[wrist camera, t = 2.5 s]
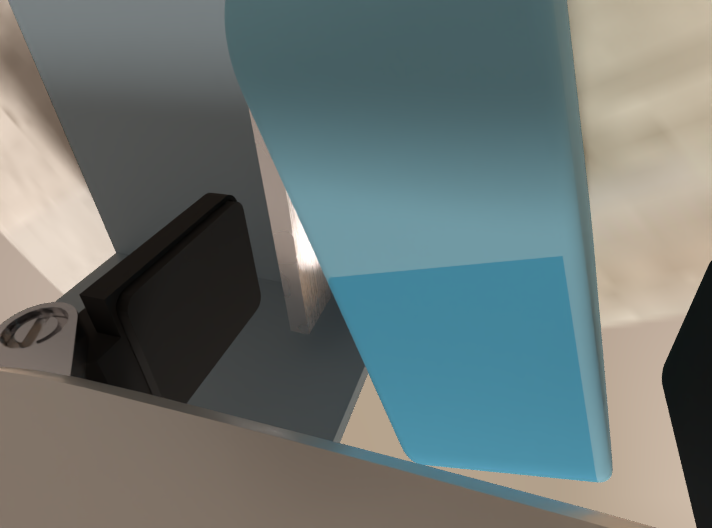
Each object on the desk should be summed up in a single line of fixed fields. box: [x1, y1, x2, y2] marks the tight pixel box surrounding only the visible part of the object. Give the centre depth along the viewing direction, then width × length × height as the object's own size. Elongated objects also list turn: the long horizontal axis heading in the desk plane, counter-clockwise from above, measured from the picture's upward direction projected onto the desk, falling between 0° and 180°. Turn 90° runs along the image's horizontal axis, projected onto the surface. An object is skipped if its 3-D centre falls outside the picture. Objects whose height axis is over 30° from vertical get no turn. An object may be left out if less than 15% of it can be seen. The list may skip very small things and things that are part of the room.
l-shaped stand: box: [8, 0, 368, 443], centre depth 19 cm, size 16×14×12 cm
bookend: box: [249, 109, 333, 335], centre depth 18 cm, size 3×10×4 cm, turn 4°
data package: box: [225, 0, 612, 482], centre depth 13 cm, size 12×4×12 cm, turn 21°
